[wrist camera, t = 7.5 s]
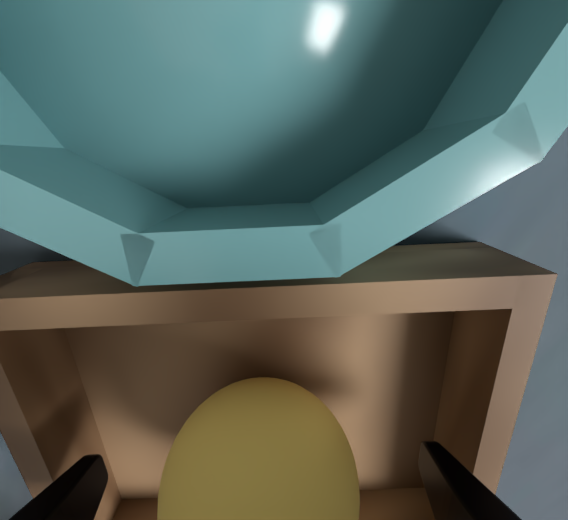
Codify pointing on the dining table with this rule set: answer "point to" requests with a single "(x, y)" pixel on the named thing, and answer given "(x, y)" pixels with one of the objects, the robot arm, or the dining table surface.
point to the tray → (273, 365)
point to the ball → (260, 458)
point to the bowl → (265, 126)
